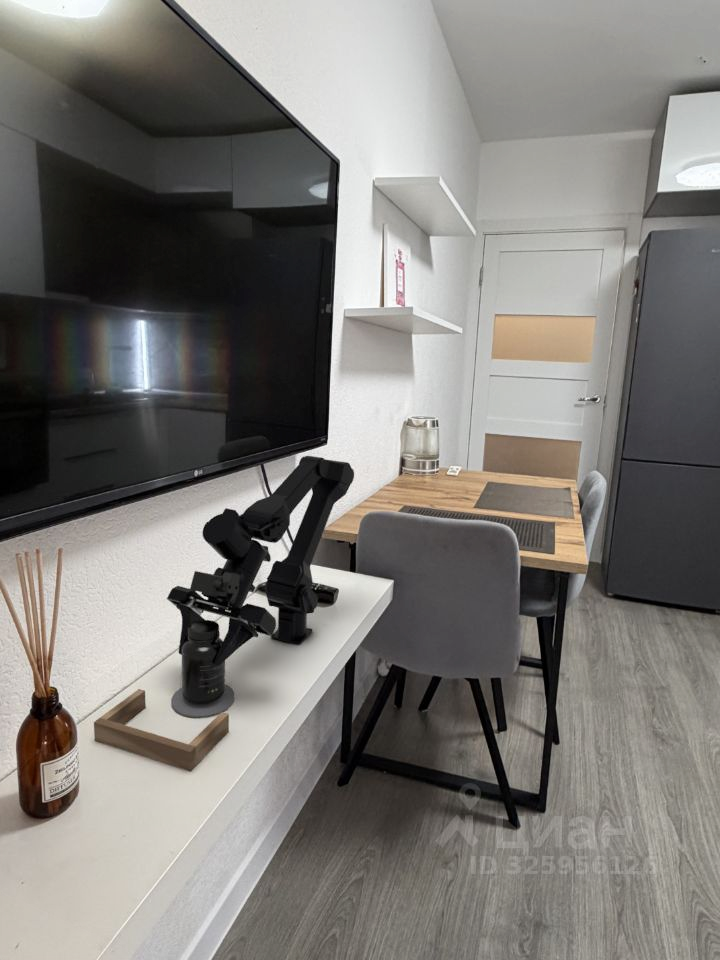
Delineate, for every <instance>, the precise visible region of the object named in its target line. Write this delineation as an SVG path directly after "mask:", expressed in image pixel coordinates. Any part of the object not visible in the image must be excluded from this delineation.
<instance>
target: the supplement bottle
mask: <svg viewBox="0 0 720 960" xmlns="http://www.w3.org/2000/svg"><path fill="white" fill-rule="evenodd" d="M220 635H221V633H220V625H219V623H218V622H216V621H214V620H209V619H205V620H200V621H196V622H193V623H192V624H190V625H189V627H188V640H187V641H186V642H185V643H184V644H183V646H182V655H181V688H182V695H183V698H184V699H185V700H186V701H188V702H190V703H192V704H209V703H212V702H215V701H216V700H218V699H219V698H221V696H222V695H223V694H224V691H225V684H226V660H225V661H224V662H223V663H222V664H221V665H219V666H216V665H214V661H215V659H216V656H217V653H218V651H219V649H220V647H221V645H222V643H223V641H224V639H222V638H220Z"/></svg>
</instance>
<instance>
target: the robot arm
mask: <svg viewBox="0 0 720 960" xmlns="http://www.w3.org/2000/svg"><path fill="white" fill-rule="evenodd" d="M354 479H355V471H354V469H353V468H352V466H351V464H350V463H349V462H346V461H339V460H333V459H332V460H331V459H325V458H324V457H322V456H321V457H320V456H312V455H305V456H302V457H301V458H300V460H299V462H298V465H297V466H296V467H295V468H294V469H293V471H291V473H290V474H289V475H288V476H287V477H286V478H285V479H284V480H283V482H282V483H280V485H279V486H278V487H277V488H276V489H275V490H274V492H273V493H272V494H270V495H269V496H267V497H263V498H261V499H258V500H256V501H255V502H254V503H252V504H251V505H249V507H247V508H246V509H245V510H244V511H243V513H242V514H239V513H238V512H237V510H236V509H232V508H227V507H226V508H224V510H223V511H222V513H220V514H216V515H215V516H213V517H212V518H210V520H209V521H207V522H206V523H205V524H204V526H203V529H202V537H203V539H204V541H205V542H206V543H207V544H208V545H209V546H210V547H211V548H212V549H213V550H214V551H215V552H216V553H217V554H219V556H221V557H222V558H223V559H224V560H226V561H225V563H224V564H223V567H217V568H216V569H215V570H214V573H208V572H201V571H197V570H195V571H194V573H193V575H192V580H191V584H190V588H189V587H184V586H180V585H176V586H175V587H173V588H171V590H170V592H169V593H168V596H167V597H166V600H168V601H169V602H170V603H171V604H172V605H174V606H175V607H176V609H178V610H179V612H180V614H181V619H182V620H181V630H180V631H181V632H180V640H179V647H178V654H179V655H180V656H182V646H183V644H184V643H185V642H186V641H187V640H188V627H189V625H190V624H192V623H193V622H196V621H200V620H206V619H205V618H204V617H203V616H201V615H202V614H203V613H204V612H207V613H211V614H215V615H219V616H222V617H226V618H229V620H228V627H227V629H228V630H227V632H226V635H225V636H224V639H223V643H222V645H221V647H220V649H219V651H218V653H217V656H216V659H215V661H214V665H216V666H219V665H221V664H222V663H223V662H224V661H225V662H226V660H227V659H228V658H229V657H231V655H233V654H234V653H235V652H236V651H238V650H239V648H240V647H242V646H243V645H245V643H248V641H251V639H252V638H258V637H259V634H262V635H265V636H269V637H270V639H272V640H276V641H280V642H281V641H282V642H287V643H289V644H294V645H301V644H302V643H303V642H304V641H305V640H306V639H308V637H309V636H310V635H311V634H312V633H313V632H312V631H314V630H313V629H312V628H309V627H307V619H308V614H313V613H315V609H316V608H317V605H318V602H319V597H318V595H317V594H316V593H315V592H314V591H313V590H312V586H313V582H314V581H313V576H312V570H311V565H312V562H313V559H314V557H315V554H316V552H317V549H318V546H319V544H320V542H321V539H322V536H323V534H324V531H325V529H326V525H327V523H328V521H329V518H330V515H331V513H332V510H333V507H334V505H335V503H336V502H338V501H340V499H342V498H343V497H344V496H346V494H347V493H348V491H349V488H350V486H351V485H352V484H353V481H354ZM310 491H311V492H312V495H311V497H310V499H309V502H308V504H307V506H306V509H305V512H304V514H303V516H302V520H301V522H300V524H299V527H298V529H297V531H296V534H295V537H294V539H293V542H292V544H291V547H290V549H289V552H288V554H287V556H286V557H285V558H284V559H283V560H275V561H274V563H272V567H271V570H270V572H269V574H268V575H267V578H266V582H265V585H264V591H265V594H266V598H267V603H268V606H269V607H274V608H277V609H278V614H277V616H278V617H277V620H276V618H275V617H274V616H273V615H272V614H271V613H270V611H268V609H266V608H265V607H262V606H259V605H255V604H251V603H246V604H245V602H246V599H247V597H248V595H249V592H250V593H254V591H255V590H256V586H255V585H254V582H255V579H256V578H257V575H258V573H259V570H260V568H261V566H262V564H263V563H264V562H268V563H270V562H271V560H272V557H271V554H270V552H269V546H268V545H262V544H261V543H260V541H263V542H267V543H273V544H274V543H278V542H279V541H280V540H281V539H282V538H283V537H284V534H285V533H286V531H288V528H289V527H290V524H291V523H290V522H291V514H292V513H293V511H294V510H295V509H296V508H297V507H298V505H299V504H300V503H301V502H302V500H304V498H305V497H306V496H307V494H308V493H309V492H310ZM198 592H199V593H200V594H201V595H202V596H201V595H200V594H199V593H198ZM203 596H204V597H206V598H207V599H205V598H204V597H203ZM276 627H277V630H276ZM275 630H276V631H275Z"/></svg>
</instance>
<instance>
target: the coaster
mask: <svg viewBox="0 0 720 960" xmlns="http://www.w3.org/2000/svg"><path fill="white" fill-rule="evenodd" d="M235 696H236V695H235V691H234V689H233V688H232V687H231V686H230V685H228V684H226V683H225V691H224V694H223V695H222V696H221V698H219V699H218V700H216V701H215V702H212V703H209V704H192V703H190V702H188V701H186V700H185V699H184V698H183V695H182V687H180V688H179V689H177V690H176V691H175V692H174V694H172V696H171V699H170V700H171V708H172V710H173V711H174V712H175V713H176V714H178V715H179V716H182V717H185V718H191V719H206V718H210V717H215V716H218V715H219V714H220V713H221V712H224V713H225V712H226V711H228V710H229V709H231V707H232V705H233V704H234V702H235V698H236V697H235Z"/></svg>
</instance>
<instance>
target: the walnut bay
mask: <svg viewBox="0 0 720 960" xmlns="http://www.w3.org/2000/svg"><path fill="white" fill-rule="evenodd" d="M146 704H147V703H146V690H145V689H141V688H138V689H137V690H136V691H134V692H132V693H131V694H130V695H128V696H127V697H126V698H124V699H123V700H122V701H120V702H119V703H118V704H116V705H115V706H114V707H113V708H111V709H110V710H108V711H107V712H105V713H104V714H103V715H101V716H100V717H98V718H97V719H96V720H95V721H93V731H94V732H93V733H94V741H95V742H98V743H101V744H104V745H107V746H109V747H110V746H111V747H113V748H117V749H120V750H122V751H126V752H129V753H132V754H135V755H138V756H140V757H145V758H148V759H151V760H154V761H157V762H160V763H163V764H167V765H169V766H173V767H176V768H179V769H182V770H184V771H188V772H192V770H193V769H195V768H196V767H197V765H198V764H199V763H201V761H202V760H203V759H204V758H205V757H206V756H207V755H208V754H209V753H210V752H212V750H213V749H214V748H215V746H217V744H218V743H220V742H221V741H222V739H224V737H225V736H226V735H227V734H228V733H229V728H230V726H229V725H230V724H229V722H230V720H229V718H230V716H229V713H227V712H225V711H224V712H221V713H220V714H218V715H216V717H214V719H213V720H212V721H211V722H210V723H208V725H207V726H206V727H205V728H203V730H202V731H200V732H199V733H198V734H197V735H196V736H195V737H194V738H193V739H192V740H191V741H190V742H189V743H185V742H183V741H179V740H174V739H171V738H168V737H165V736H162V735H158V734H155V733H152V732H149V731H145V730H142V729H139V728H136V727H132V726H130V725H126V724H127V723H129V721H132V719H134V718H135V717H136V716H137V715H138V714H139V713H141V712H142V711H143V710H145V709H146V708H147V707H146V706H147V705H146Z"/></svg>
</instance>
